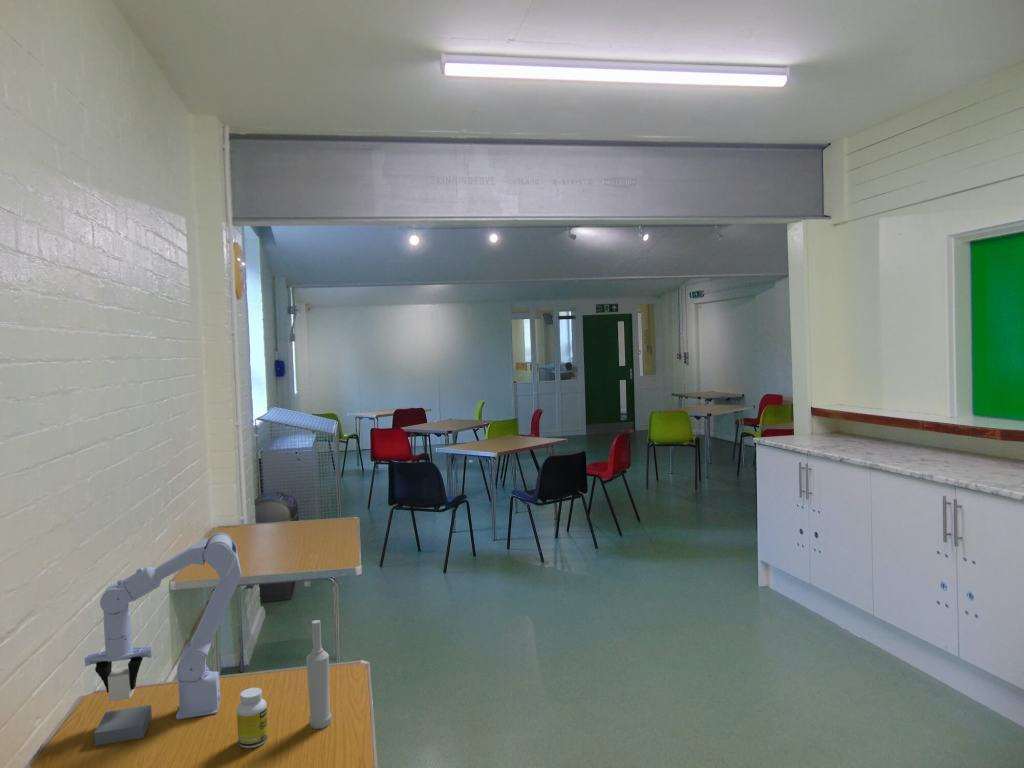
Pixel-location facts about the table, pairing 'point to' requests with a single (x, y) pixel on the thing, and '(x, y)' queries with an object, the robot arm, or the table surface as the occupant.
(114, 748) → the table surface
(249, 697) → the pill bottle
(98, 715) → the table surface
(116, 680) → the cream block
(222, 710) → the table surface
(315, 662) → the bottle
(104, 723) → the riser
